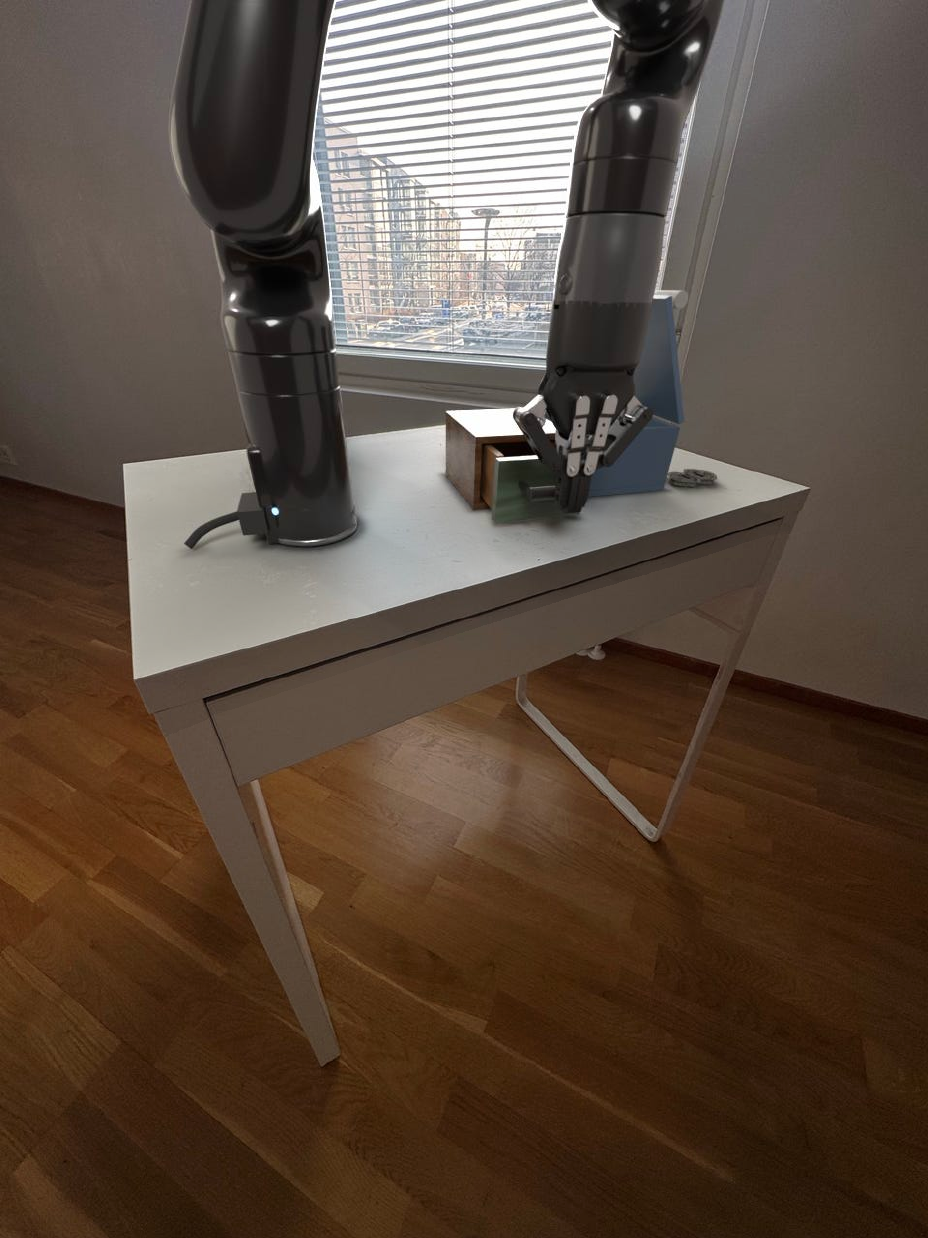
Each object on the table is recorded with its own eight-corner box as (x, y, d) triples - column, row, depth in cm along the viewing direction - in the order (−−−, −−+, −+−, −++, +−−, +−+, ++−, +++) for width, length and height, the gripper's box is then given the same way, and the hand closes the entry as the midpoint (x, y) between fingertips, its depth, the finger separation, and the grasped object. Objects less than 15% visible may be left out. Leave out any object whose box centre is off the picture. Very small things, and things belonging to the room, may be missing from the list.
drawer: (596, 528, 52) (609, 466, 48) (507, 538, 49) (512, 473, 45) (536, 479, 64) (542, 427, 61) (463, 485, 62) (464, 431, 58)
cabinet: (560, 502, 60) (570, 431, 55) (473, 510, 57) (475, 436, 52) (520, 469, 71) (526, 407, 66) (445, 474, 68) (445, 410, 63)
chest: (573, 498, 62) (584, 431, 57) (538, 470, 71) (544, 411, 66) (663, 490, 65) (680, 426, 60) (618, 464, 74) (630, 407, 69)
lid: (665, 298, 51) (706, 275, 51) (609, 296, 60) (644, 277, 60) (678, 424, 60) (714, 405, 60) (628, 405, 69) (659, 389, 69)
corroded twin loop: (656, 480, 68) (658, 473, 67) (695, 473, 71) (697, 466, 70) (684, 491, 64) (686, 484, 64) (724, 483, 67) (726, 476, 67)
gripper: (649, 296, 41) (609, 492, 51) (504, 293, 38) (492, 502, 48) (707, 299, 35) (649, 519, 45) (542, 294, 32) (519, 533, 42)
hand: (568, 510), depth 46 cm, fingers closed
